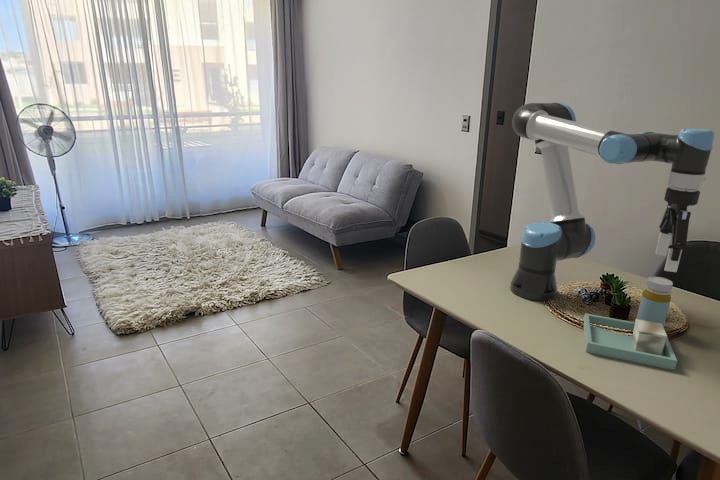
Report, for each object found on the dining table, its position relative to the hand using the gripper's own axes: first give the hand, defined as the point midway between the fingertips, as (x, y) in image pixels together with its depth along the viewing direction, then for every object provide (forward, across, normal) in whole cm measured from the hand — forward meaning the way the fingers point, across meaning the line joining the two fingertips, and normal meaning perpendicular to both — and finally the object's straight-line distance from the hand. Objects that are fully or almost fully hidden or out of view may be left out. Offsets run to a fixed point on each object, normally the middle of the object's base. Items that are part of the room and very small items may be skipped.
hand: (665, 262), depth 130 cm
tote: (+20, -15, +8) cm, 27 cm away
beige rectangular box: (+20, -15, +3) cm, 25 cm away
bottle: (+21, 0, 0) cm, 21 cm away
